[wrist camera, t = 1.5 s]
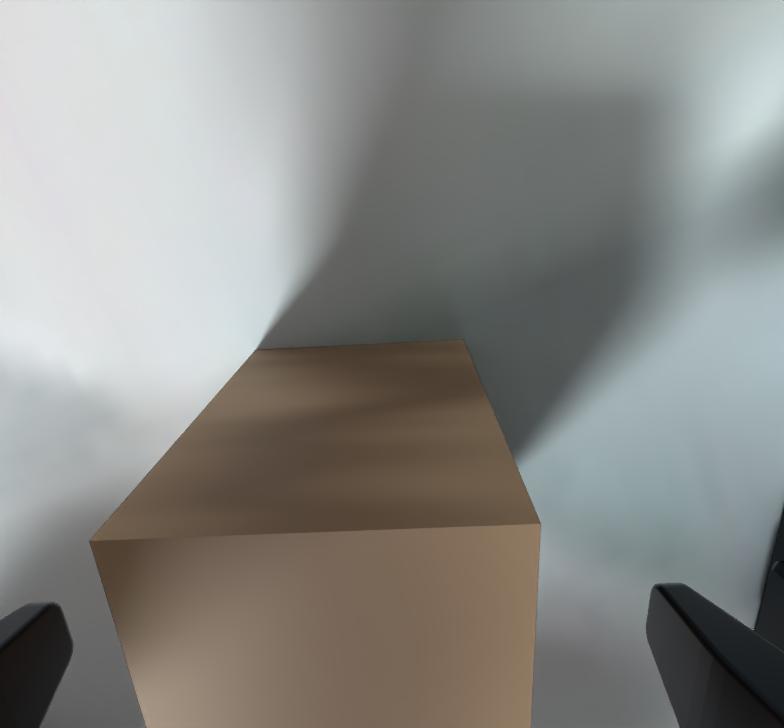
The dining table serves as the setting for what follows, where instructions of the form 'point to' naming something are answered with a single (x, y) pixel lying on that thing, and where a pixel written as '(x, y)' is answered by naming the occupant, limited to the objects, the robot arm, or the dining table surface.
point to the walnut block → (331, 551)
